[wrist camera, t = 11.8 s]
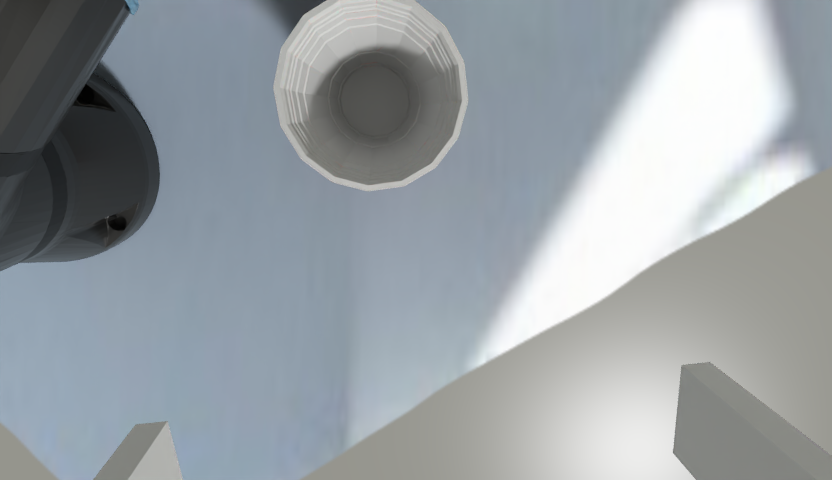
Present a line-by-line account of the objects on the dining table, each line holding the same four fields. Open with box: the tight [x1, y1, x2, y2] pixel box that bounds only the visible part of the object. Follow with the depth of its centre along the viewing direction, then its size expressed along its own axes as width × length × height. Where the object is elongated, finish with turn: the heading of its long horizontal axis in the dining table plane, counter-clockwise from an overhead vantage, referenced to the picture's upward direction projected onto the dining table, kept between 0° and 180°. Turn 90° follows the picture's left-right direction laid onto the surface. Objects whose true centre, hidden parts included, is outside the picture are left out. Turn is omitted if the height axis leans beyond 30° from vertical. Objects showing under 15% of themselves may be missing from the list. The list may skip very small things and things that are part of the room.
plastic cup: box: [273, 0, 468, 191], centre depth 31 cm, size 11×11×12 cm
